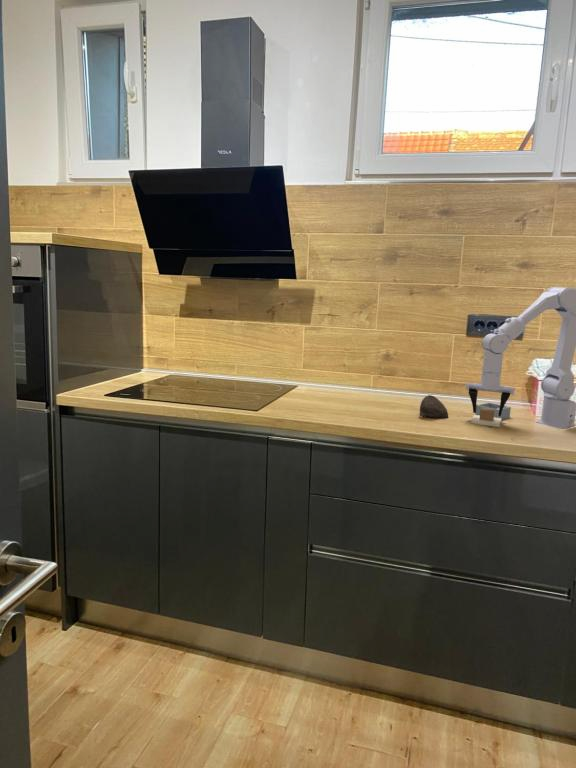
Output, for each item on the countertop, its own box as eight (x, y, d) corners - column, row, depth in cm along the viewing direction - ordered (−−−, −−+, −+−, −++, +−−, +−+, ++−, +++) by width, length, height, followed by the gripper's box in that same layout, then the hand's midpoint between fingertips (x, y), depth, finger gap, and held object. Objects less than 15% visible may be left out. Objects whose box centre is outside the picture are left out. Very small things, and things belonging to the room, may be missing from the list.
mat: (506, 424, 182) (506, 423, 182) (491, 428, 176) (491, 427, 176) (481, 418, 188) (481, 417, 188) (465, 422, 183) (465, 421, 183)
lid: (501, 421, 184) (502, 408, 184) (499, 427, 177) (500, 413, 176) (473, 417, 188) (475, 405, 187) (470, 423, 180) (472, 410, 179)
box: (509, 418, 190) (510, 407, 190) (496, 421, 185) (497, 409, 185) (487, 413, 196) (489, 402, 196) (474, 416, 191) (476, 405, 191)
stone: (436, 424, 194) (416, 402, 195) (455, 410, 189) (434, 388, 191) (428, 435, 186) (407, 412, 187) (447, 420, 181) (426, 396, 182)
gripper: (516, 372, 180) (511, 414, 182) (469, 368, 186) (465, 408, 188) (515, 375, 174) (510, 418, 176) (466, 370, 179) (462, 412, 182)
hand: (487, 413), depth 182 cm, fingers open, 7 cm apart
